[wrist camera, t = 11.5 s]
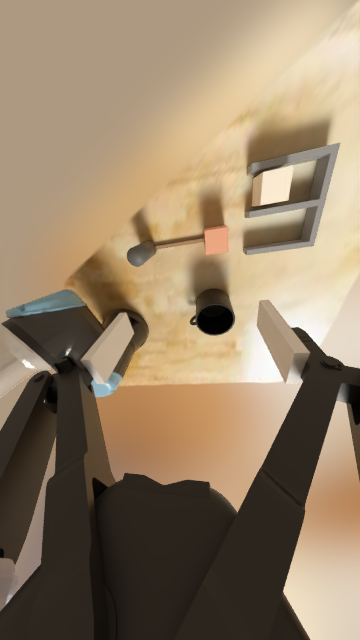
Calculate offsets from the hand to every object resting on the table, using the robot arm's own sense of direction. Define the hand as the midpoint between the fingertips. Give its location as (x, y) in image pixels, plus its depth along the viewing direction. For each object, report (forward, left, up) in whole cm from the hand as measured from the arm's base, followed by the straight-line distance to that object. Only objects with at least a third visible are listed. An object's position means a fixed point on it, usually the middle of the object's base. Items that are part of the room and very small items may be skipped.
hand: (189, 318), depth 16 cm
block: (+14, +10, -29) cm, 34 cm away
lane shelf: (+17, +7, -29) cm, 34 cm away
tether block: (-3, +3, -29) cm, 29 cm away
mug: (+2, -14, -29) cm, 32 cm away
